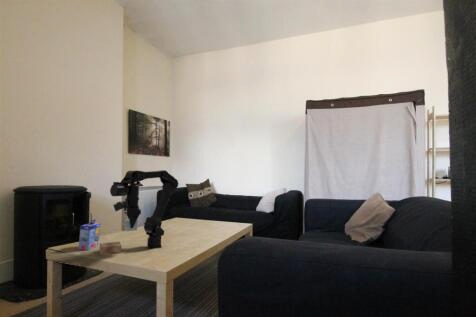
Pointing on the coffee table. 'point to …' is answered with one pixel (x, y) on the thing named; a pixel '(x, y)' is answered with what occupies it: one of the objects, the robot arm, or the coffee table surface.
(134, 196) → the robot arm
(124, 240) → the coffee table surface
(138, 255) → the coffee table surface
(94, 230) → the ink cartridge box
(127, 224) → the slate cube
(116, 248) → the walnut block
